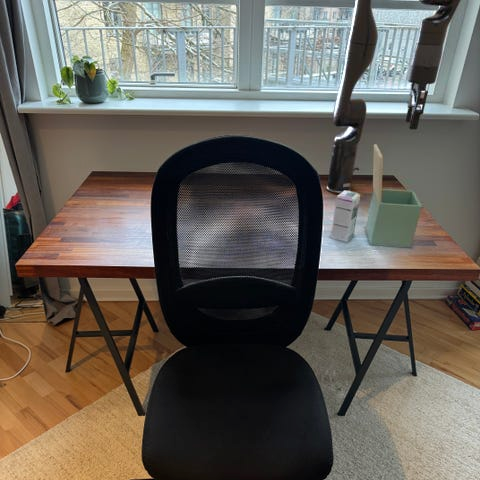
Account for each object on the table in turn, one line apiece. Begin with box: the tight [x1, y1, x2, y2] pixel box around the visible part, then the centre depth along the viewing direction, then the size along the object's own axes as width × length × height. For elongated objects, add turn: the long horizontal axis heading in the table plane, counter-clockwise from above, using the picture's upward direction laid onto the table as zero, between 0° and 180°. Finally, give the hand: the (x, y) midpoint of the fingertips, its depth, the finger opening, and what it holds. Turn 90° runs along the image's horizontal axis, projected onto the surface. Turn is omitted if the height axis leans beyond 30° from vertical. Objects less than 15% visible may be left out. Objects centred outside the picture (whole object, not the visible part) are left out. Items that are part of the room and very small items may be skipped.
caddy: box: [365, 188, 423, 249], centre depth 145 cm, size 13×13×14 cm
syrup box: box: [330, 190, 361, 243], centre depth 144 cm, size 6×6×14 cm
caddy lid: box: [372, 143, 384, 202], centre depth 137 cm, size 13×13×1 cm
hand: (410, 125), depth 134 cm, fingers open, 8 cm apart
